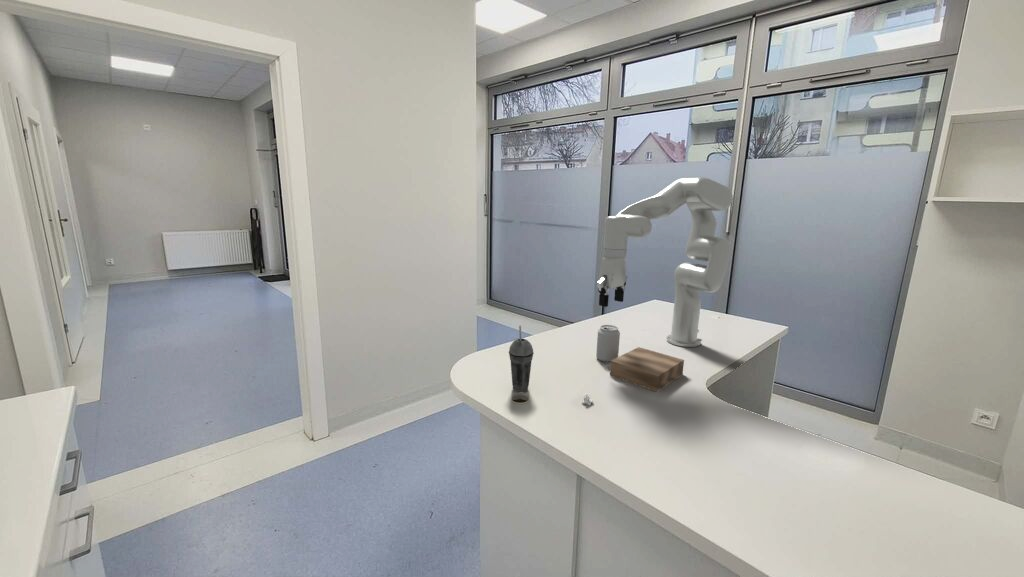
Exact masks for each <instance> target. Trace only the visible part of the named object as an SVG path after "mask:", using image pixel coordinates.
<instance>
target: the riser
mask: <svg viewBox="0 0 1024 577" xmlns="http://www.w3.org/2000/svg"><path fill="white" fill-rule="evenodd" d="M684 364H685V359H683V358H679V357H675V356H672V355H668V354H664V353H662V352H657V351H654V350H650V349H647V348H643V347H640V346H638V347H636V348H634V349H632V350H630V351H628V352H625V353H624V354H622V355H618V357H617V358H615V359H613V360H611V363H610V368H609V376H611V377H613V378H617V379H620V380H622V381H625V382H628V383H631V384H633V385H636V386H639V387H641V388H645V389H647V390H650V391H653V392H659V391H660V390H662V389H663V388H665V387H667V385H669V384H671V383H672V382H673V381H675V380H676V379H678V378H680V377H681V376H682V375H683V372H684V367H685V366H684Z"/></svg>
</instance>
